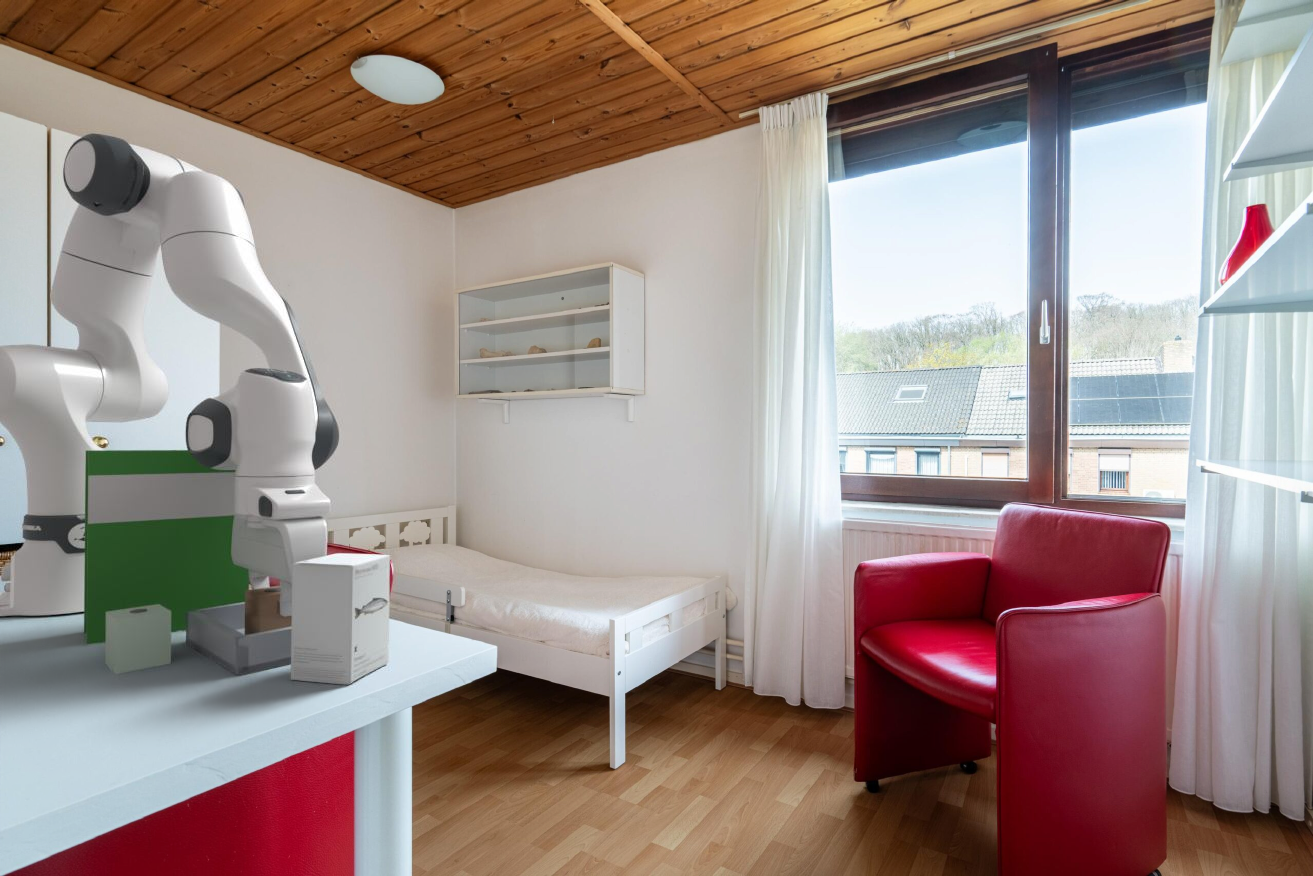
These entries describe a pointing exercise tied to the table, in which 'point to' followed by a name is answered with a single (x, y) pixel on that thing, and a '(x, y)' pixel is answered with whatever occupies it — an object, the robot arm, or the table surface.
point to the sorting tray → (236, 640)
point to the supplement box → (339, 617)
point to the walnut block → (264, 610)
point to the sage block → (138, 638)
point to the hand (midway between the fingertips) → (274, 609)
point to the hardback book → (157, 536)
